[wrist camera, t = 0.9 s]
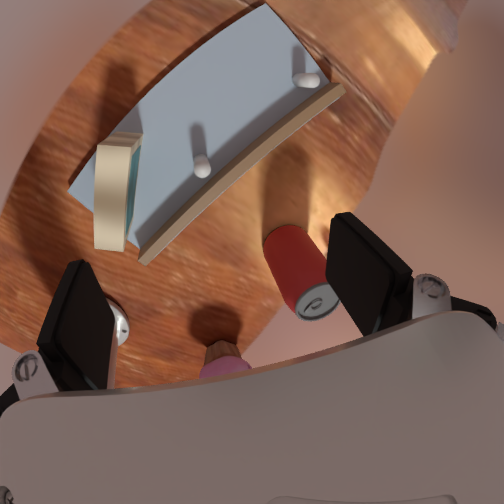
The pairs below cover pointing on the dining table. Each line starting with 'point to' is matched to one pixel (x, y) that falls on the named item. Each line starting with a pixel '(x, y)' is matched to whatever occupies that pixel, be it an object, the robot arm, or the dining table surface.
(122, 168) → the beige tapered block
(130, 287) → the dining table surface
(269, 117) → the ledge
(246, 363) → the cupcake
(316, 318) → the beer can
